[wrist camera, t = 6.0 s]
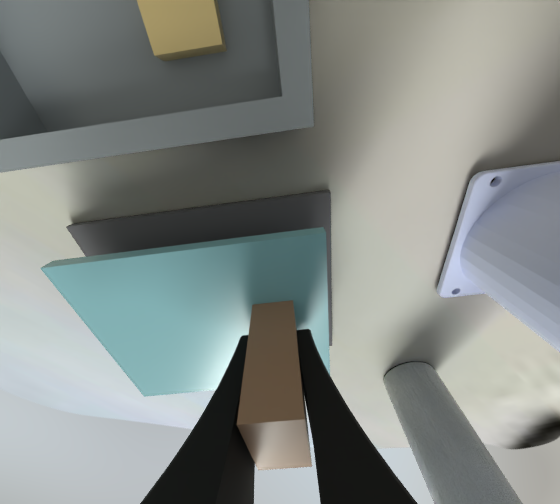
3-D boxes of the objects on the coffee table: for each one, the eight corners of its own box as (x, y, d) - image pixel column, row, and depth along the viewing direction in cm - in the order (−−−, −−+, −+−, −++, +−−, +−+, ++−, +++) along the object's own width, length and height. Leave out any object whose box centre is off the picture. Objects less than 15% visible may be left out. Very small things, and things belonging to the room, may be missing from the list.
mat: (328, 189, 11) (330, 192, 11) (330, 341, 17) (332, 345, 17) (72, 224, 12) (66, 226, 12) (160, 358, 18) (158, 362, 18)
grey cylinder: (380, 367, 19) (470, 576, 10) (433, 355, 19) (581, 569, 10) (385, 393, 21) (464, 584, 12) (434, 383, 21) (554, 578, 12)
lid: (319, 220, 10) (374, 332, 5) (325, 359, 15) (354, 493, 10) (67, 252, 11) (-160, 386, 5) (154, 375, 16) (88, 510, 10)
